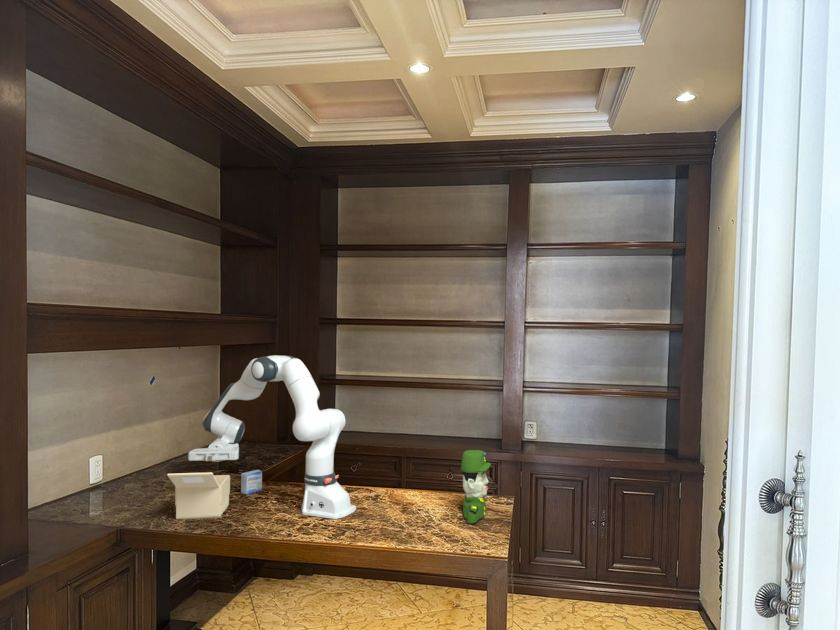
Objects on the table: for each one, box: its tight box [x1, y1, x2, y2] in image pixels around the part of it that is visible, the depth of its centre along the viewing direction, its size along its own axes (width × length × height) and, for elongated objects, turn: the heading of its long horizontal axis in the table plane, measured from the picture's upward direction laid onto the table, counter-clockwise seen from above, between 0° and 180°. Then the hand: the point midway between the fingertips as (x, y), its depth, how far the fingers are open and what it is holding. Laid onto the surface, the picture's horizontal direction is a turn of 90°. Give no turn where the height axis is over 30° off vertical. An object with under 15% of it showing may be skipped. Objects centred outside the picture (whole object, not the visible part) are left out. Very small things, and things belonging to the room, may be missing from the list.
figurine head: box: [460, 449, 492, 524], centre depth 205 cm, size 22×12×25 cm, turn 167°
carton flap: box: [167, 471, 219, 488], centre depth 194 cm, size 13×15×1 cm
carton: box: [174, 474, 231, 520], centre depth 207 cm, size 14×17×12 cm
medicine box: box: [240, 469, 263, 495], centre depth 231 cm, size 8×4×9 cm, turn 143°
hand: (209, 459), depth 215 cm, fingers closed
